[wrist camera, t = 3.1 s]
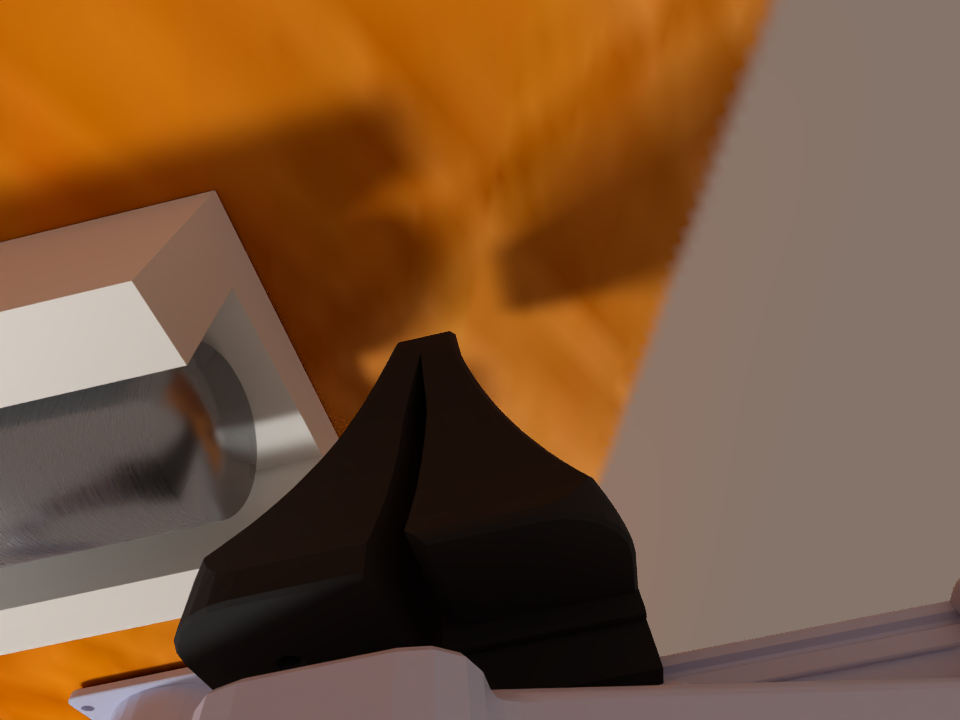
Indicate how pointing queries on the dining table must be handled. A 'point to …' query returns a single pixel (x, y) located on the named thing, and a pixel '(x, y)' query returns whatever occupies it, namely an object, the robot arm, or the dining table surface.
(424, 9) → the dining table surface
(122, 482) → the axle
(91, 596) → the white channel tray
